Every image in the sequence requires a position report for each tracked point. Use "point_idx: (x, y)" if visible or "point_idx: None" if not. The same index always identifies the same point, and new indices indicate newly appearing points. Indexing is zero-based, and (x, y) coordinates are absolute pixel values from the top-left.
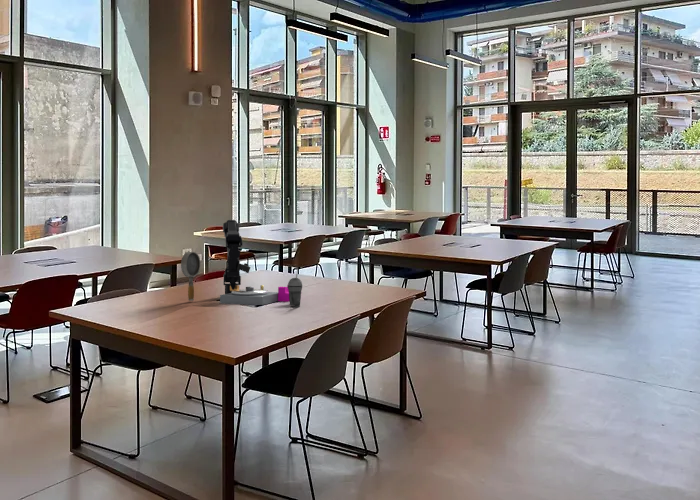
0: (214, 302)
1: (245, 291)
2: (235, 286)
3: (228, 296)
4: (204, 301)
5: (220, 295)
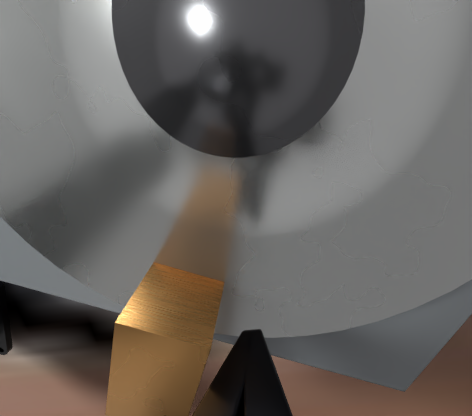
0: None
1: (376, 120)
2: (205, 358)
3: (459, 308)
4: None
5: (406, 384)
